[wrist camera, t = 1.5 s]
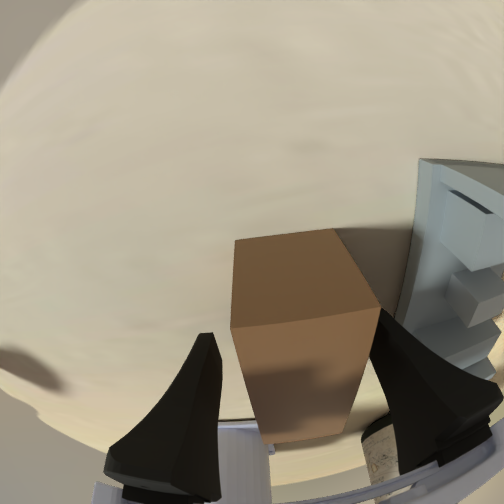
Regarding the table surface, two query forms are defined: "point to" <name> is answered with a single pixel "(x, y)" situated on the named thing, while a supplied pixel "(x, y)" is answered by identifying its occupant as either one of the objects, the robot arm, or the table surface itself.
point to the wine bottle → (381, 454)
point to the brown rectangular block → (300, 331)
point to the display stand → (456, 262)
